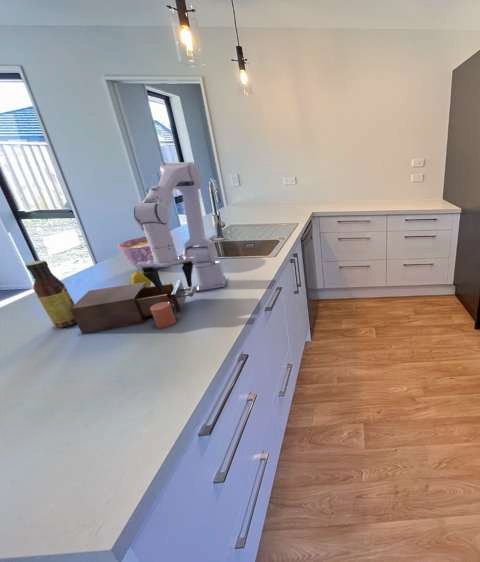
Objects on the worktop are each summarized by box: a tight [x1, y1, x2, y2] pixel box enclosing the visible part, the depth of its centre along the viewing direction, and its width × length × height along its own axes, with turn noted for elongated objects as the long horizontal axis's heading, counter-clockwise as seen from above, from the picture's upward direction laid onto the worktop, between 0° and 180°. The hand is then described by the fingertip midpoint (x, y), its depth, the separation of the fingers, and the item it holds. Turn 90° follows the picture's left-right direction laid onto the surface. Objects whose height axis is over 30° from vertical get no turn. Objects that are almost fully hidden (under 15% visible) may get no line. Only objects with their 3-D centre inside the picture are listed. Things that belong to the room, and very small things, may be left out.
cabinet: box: [70, 282, 147, 335], centre depth 92 cm, size 15×13×8 cm
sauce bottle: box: [25, 259, 77, 329], centre depth 87 cm, size 6×6×20 cm
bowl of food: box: [117, 235, 174, 268], centre depth 133 cm, size 20×20×12 cm
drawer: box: [136, 279, 197, 317], centre depth 97 cm, size 18×12×6 cm, turn 113°
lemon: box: [130, 270, 152, 287], centre depth 110 cm, size 6×6×8 cm
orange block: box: [150, 302, 177, 329], centre depth 89 cm, size 5×5×6 cm
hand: (176, 288), depth 91 cm, fingers open, 7 cm apart
